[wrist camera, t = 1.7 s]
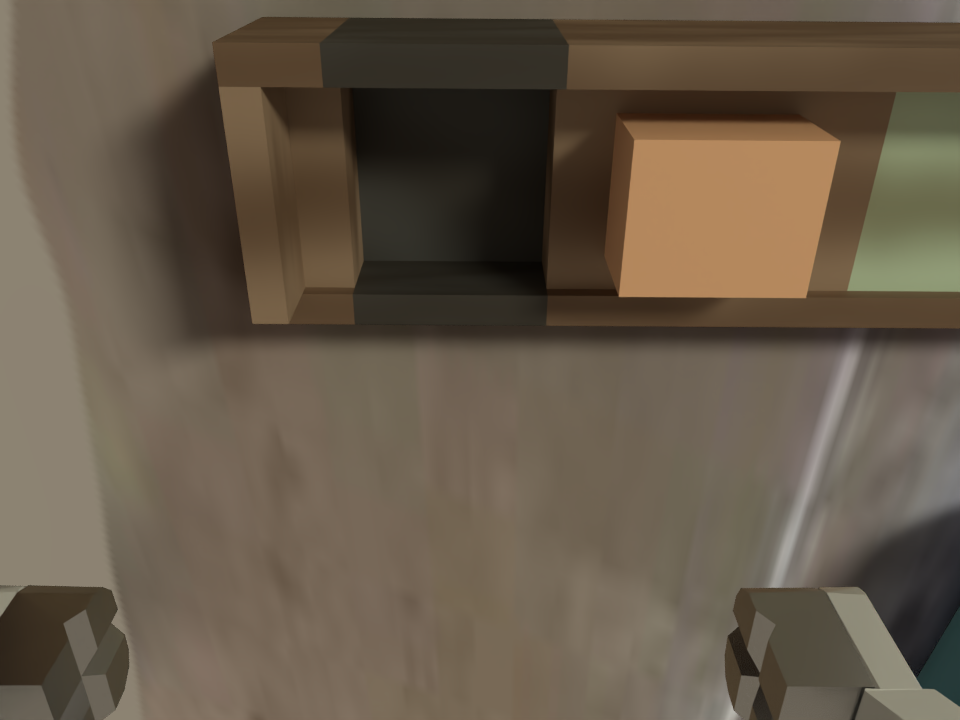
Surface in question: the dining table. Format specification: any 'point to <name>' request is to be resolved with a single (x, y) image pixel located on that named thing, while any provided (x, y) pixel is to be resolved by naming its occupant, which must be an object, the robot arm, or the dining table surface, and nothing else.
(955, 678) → the casserole dish
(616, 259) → the terracotta block
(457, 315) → the box
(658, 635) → the dining table surface
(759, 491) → the dining table surface
